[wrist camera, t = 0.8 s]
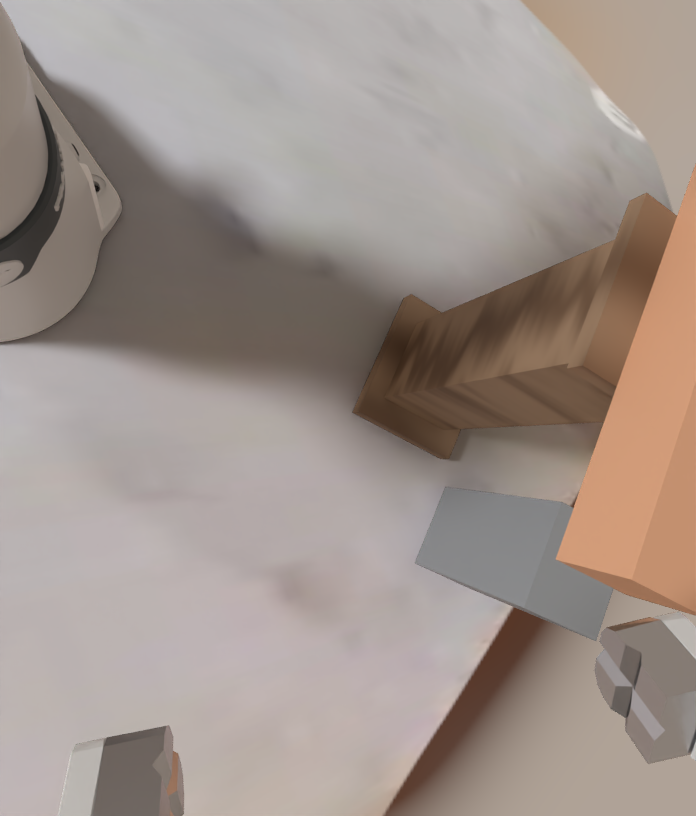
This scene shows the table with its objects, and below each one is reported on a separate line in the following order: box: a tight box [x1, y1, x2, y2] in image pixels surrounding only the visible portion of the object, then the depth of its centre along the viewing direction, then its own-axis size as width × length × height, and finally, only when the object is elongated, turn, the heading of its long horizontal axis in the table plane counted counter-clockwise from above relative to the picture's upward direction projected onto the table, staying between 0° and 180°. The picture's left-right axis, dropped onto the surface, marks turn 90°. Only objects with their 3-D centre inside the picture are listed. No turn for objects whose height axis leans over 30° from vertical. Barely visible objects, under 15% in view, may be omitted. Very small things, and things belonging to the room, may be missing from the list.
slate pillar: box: [415, 487, 613, 641], centre depth 46 cm, size 7×6×15 cm
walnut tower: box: [352, 193, 677, 459], centre depth 40 cm, size 11×9×26 cm
